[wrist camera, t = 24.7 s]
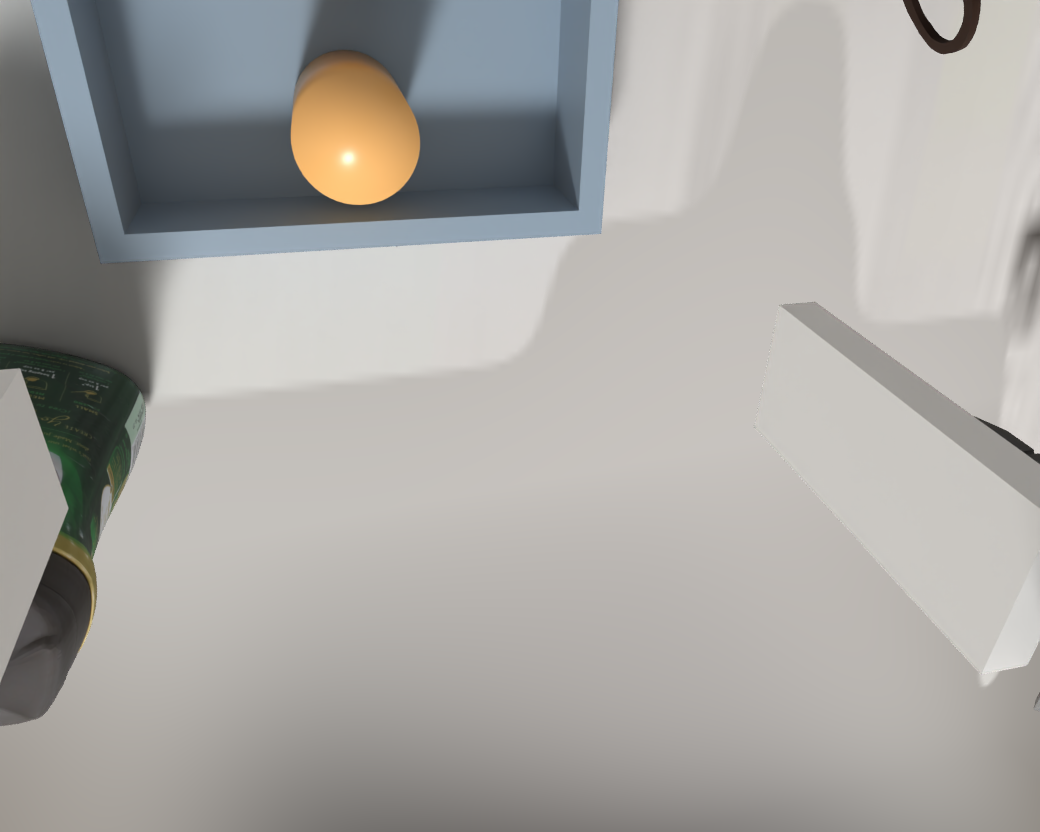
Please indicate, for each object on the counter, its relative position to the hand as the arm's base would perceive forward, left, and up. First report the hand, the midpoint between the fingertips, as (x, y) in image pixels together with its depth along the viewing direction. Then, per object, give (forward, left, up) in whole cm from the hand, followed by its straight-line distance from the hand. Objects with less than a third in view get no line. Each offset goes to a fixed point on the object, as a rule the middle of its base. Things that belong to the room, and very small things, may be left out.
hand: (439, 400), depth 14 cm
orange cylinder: (0, 0, -28) cm, 28 cm away
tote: (-4, 0, -29) cm, 29 cm away
